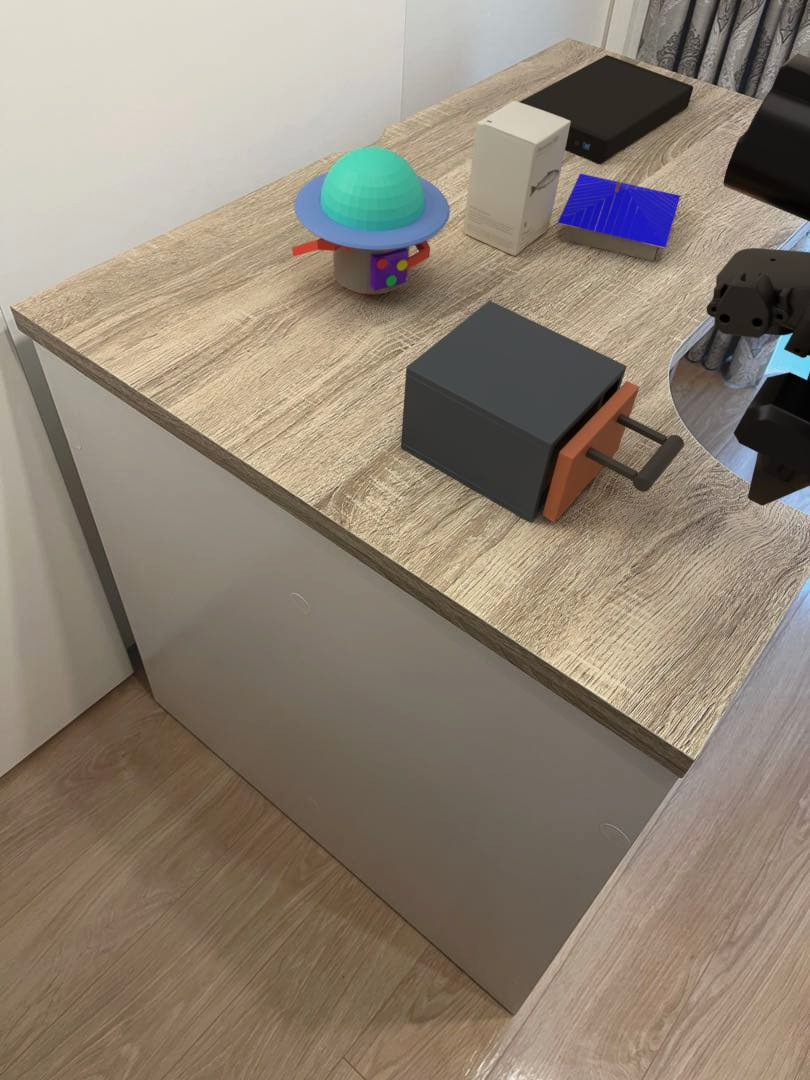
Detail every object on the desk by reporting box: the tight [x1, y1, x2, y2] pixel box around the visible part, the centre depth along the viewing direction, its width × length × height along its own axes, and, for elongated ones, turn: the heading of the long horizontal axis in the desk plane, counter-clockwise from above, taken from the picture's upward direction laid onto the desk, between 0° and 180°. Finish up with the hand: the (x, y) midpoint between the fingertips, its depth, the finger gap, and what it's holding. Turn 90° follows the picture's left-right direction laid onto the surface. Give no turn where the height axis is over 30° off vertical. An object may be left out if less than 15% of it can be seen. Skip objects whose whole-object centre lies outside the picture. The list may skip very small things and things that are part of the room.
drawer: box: [542, 380, 685, 523], centre depth 70 cm, size 18×11×7 cm, turn 53°
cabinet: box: [400, 300, 627, 524], centre depth 72 cm, size 13×12×9 cm
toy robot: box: [292, 146, 451, 296], centre depth 84 cm, size 15×15×14 cm
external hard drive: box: [519, 54, 694, 165], centre depth 117 cm, size 14×23×3 cm, turn 140°
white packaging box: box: [462, 100, 571, 257], centre depth 93 cm, size 7×7×13 cm
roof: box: [557, 173, 681, 262], centre depth 98 cm, size 12×12×5 cm
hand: (778, 460), depth 58 cm, fingers open, 9 cm apart
